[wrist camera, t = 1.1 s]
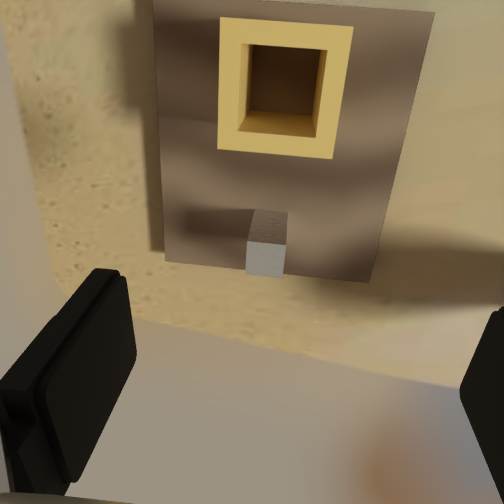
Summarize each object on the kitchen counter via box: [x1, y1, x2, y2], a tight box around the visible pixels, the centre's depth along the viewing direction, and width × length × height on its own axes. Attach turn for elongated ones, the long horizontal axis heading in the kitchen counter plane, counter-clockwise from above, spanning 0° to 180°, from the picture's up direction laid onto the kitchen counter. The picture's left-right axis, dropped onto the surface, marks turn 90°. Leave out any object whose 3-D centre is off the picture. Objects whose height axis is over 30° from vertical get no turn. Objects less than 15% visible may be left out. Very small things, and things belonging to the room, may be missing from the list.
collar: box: [217, 17, 354, 159], centre depth 22 cm, size 6×6×6 cm
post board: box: [152, 0, 435, 283], centre depth 26 cm, size 18×16×6 cm
